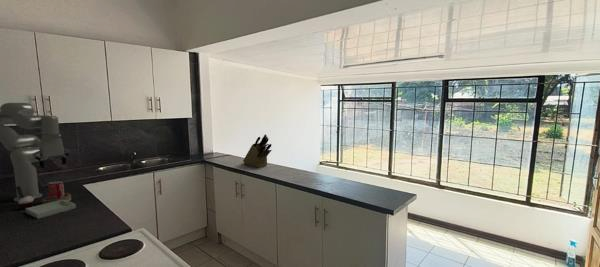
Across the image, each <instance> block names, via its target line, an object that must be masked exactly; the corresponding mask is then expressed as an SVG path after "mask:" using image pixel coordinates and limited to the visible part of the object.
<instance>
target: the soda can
mask: <svg viewBox="0 0 600 267" xmlns="http://www.w3.org/2000/svg"><path fill="white" fill-rule="evenodd" d="M47 194H48V196H49V200H54V199H60V198H64V197H65V194H66V193H65V187H64V182H62V180H56V181H50V182H48V185H47ZM48 196H47V197H48Z"/></svg>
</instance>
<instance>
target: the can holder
mask: <svg viewBox="0 0 600 267" xmlns="http://www.w3.org/2000/svg"><path fill="white" fill-rule="evenodd" d="M64 194H65V197H64V198H60V199H54V200H49V196H46V197H43V198H42V199H41V203H42V204H46V203H50V202H54V201H59V200H66V201H69V202H71V200H72V195H71V193H64ZM42 204H41V205H42Z"/></svg>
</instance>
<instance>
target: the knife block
mask: <svg viewBox="0 0 600 267" xmlns="http://www.w3.org/2000/svg"><path fill="white" fill-rule="evenodd" d="M269 140H270V138H268V136H267V134H263V137H262V138H261V137H260V136H258V137H257V139H256V141H255V142H254V143H253V144H251V146H250V148H249V150H248V151H247V153H246V155H245V157H244V159H243V161H242V162H243V163H244V164H245V165H249V166H252V167H256V168H261V167H262V168H263V167H267V166H268V156H269V155H270V153H271V152H272V149H271V147H272V143H270V144H268V142H269Z"/></svg>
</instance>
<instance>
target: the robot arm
mask: <svg viewBox="0 0 600 267" xmlns="http://www.w3.org/2000/svg"><path fill="white" fill-rule="evenodd" d="M34 113H35V107H34V106H33V105H32V104H31V103H27V102H6V103H4V104H2V105H0V143H1V144H2V146H3V147H4V148H5V149H6V150H8V151H9V152H10V151H11V152H10V154H9V157H10V161H11V164H12V167H13V173H14V181H15V188H16V187H18V186H20V188H21V191H22V193H23V195H24V197H26V196H32V197H33V198H34V200H36V198H37V199H39V198H41V197H42V196H43V193H40V192H39V184H38V183H39V182H38V174H37V168H36V167H35V165H33V163H36V162H39V167H40V168H45V161H46V160H47V159H49V157H51V158H52V157H58V156H59V157H60V156H61V165H66V164H67V157H68V156H69V155H70V153H71V152H72V150H71V149H69V148H65V147H64V144H63V143H64V142H63V140H62V138H61V137H63V134H61V133H60V126H59V118H58V116H56V115H47V114H46V115H45V114H44V115H38V114H37V115H34ZM7 125H16V126H17V127H19V128H22V129H25V130H33V129H41V139H40V138H39V137H38V136H36V135H34V134H18V132H16V130H14V129H13V128H11V127H10V126H7ZM65 151H66V152H65ZM15 190H16V197H14V198H13V201H14V202H18V201H19V200H20V199H21V198H20V196H19V193H18V191H17V188H16V189H15Z"/></svg>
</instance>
